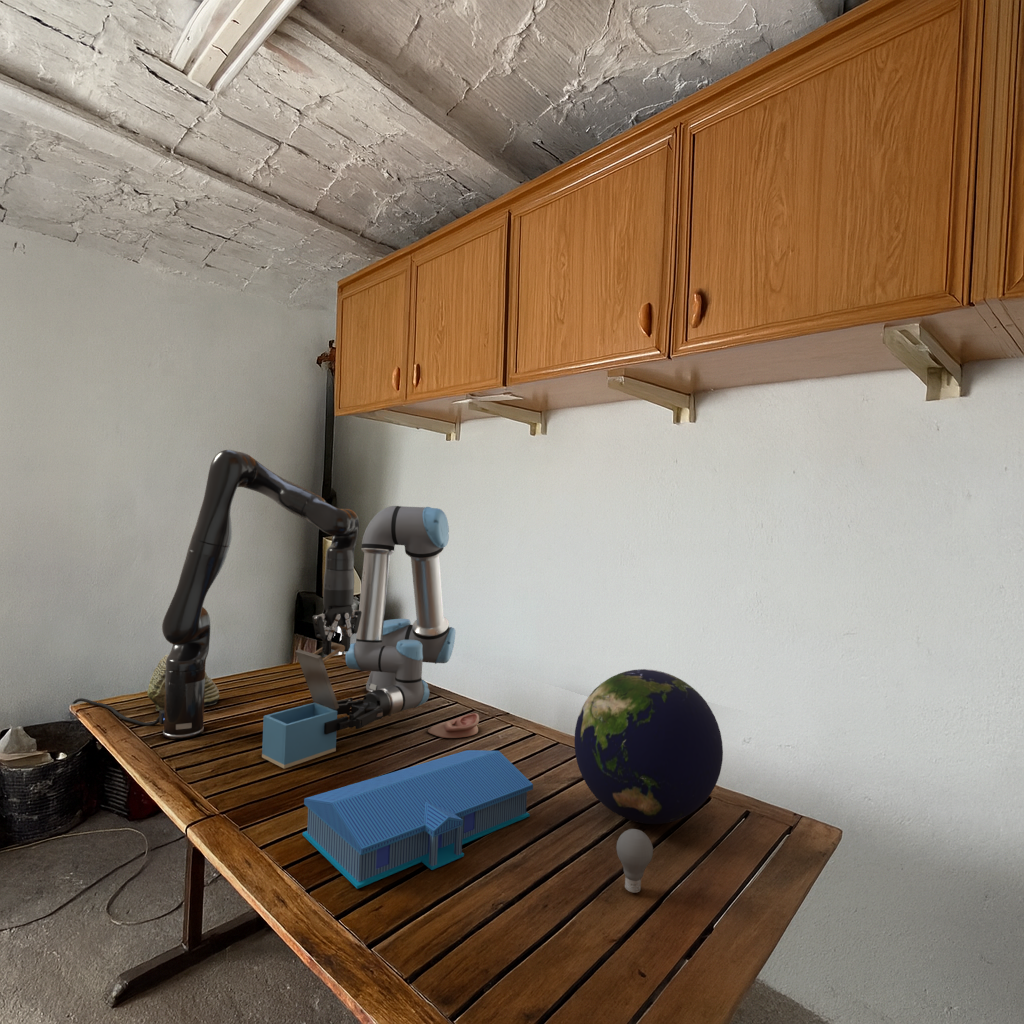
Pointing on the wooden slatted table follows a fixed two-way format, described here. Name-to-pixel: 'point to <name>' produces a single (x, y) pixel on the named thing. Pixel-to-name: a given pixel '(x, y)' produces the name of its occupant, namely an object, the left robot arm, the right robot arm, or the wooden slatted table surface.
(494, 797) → the model building
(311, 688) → the lid
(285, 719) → the chest
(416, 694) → the right robot arm
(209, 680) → the fossil
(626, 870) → the light bulb
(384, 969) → the wooden slatted table surface
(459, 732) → the anatomical model
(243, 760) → the wooden slatted table surface
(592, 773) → the globe
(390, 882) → the wooden slatted table surface
